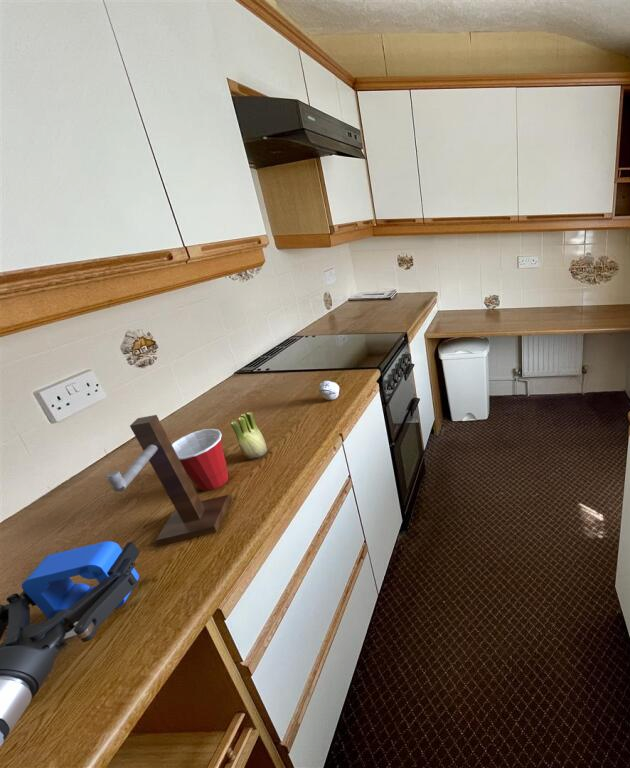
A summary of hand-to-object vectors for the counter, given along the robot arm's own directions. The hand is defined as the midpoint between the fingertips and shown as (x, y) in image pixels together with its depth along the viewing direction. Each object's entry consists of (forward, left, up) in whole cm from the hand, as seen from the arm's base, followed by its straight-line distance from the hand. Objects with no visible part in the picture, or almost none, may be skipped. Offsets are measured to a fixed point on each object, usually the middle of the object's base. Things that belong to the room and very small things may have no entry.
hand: (96, 556), depth 69 cm
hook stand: (-2, +12, -7) cm, 14 cm away
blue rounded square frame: (+4, -2, -6) cm, 7 cm away
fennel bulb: (-22, +31, -7) cm, 39 cm away
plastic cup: (-18, +20, -7) cm, 28 cm away
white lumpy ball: (-37, +58, -7) cm, 69 cm away
